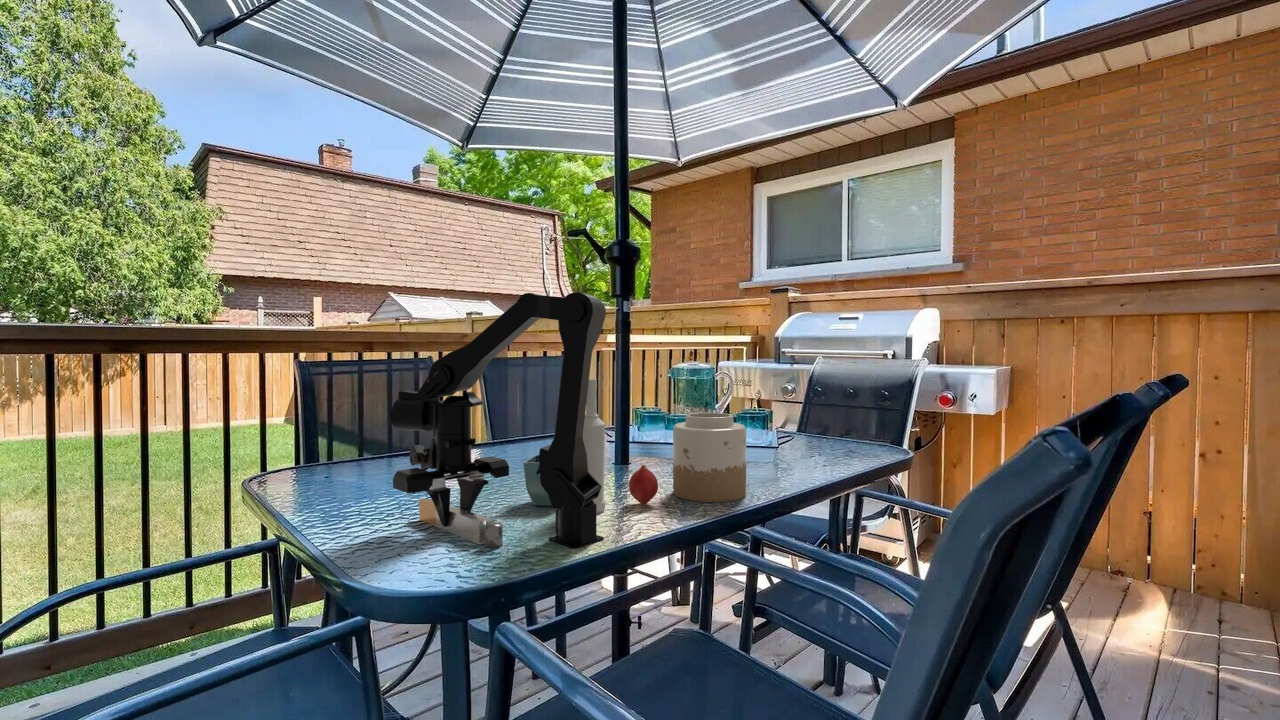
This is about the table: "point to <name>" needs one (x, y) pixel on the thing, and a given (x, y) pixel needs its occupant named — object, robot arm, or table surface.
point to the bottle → (595, 443)
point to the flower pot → (535, 482)
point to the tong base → (489, 530)
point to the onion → (643, 485)
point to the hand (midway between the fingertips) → (454, 524)
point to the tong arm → (454, 522)
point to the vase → (709, 458)
